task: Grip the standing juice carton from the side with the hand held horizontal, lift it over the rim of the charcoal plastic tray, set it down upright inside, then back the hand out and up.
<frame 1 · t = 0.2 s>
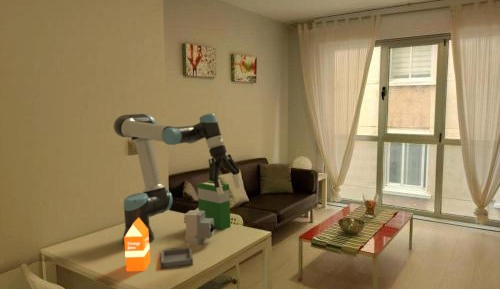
hand: (230, 191, 167), 28 cm above the table, tool tilted 20°, fingers open, 13 cm apart
circuit breaker: (201, 242, 180), on the table
juice carton: (138, 266, 155), on the table
green box: (214, 225, 205), on the table
tray: (177, 260, 160), on the table
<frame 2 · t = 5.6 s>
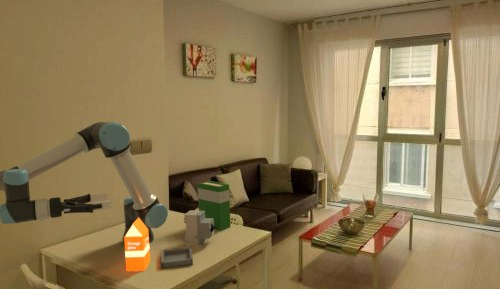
hand: (109, 200, 148), 30 cm above the table, tool horizontal, fingers open, 13 cm apart
nothing on the table moved.
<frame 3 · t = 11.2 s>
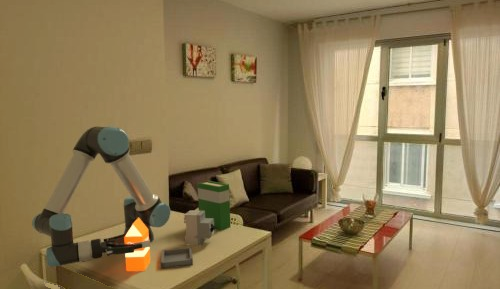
hand: (147, 239, 156), 11 cm above the table, tool horizontal, fingers closed on juice carton, 10 cm apart
juice carton: (138, 266, 155), on the table, touching gripper
everything else where it was.
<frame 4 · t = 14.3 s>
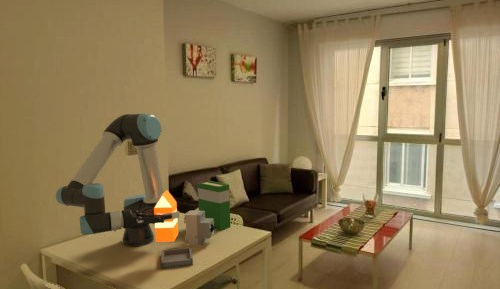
hand: (175, 211, 158), 22 cm above the table, tool horizontal, fingers closed on juice carton, 10 cm apart
juice carton: (167, 238, 157), point 11 cm above the table, touching gripper
everything else where it was.
when the fingers open (13 cm above the table, at t = 17.4 s): juice carton drops 1 cm, resting on tray.
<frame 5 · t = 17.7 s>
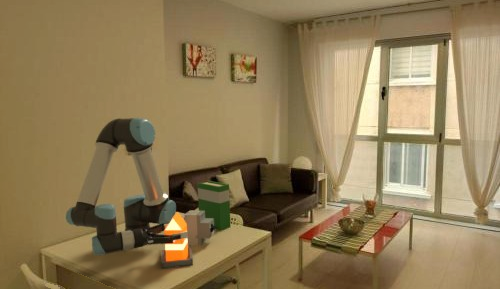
hand: (183, 229, 160), 13 cm above the table, tool horizontal, fingers open, 13 cm apart
juice carton: (177, 259, 160), resting on tray, touching gripper
everything else where it was.
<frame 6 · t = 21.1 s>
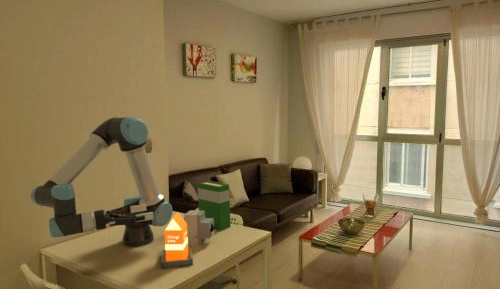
hand: (149, 211, 153), 24 cm above the table, tool horizontal, fingers open, 13 cm apart
juice carton: (177, 259, 159), resting on tray
everything else where it was.
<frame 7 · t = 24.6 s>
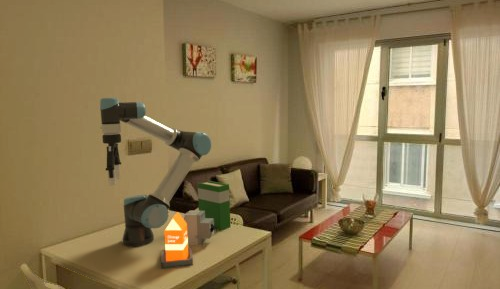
hand: (114, 182, 160), 35 cm above the table, tool pointing down, fingers open, 13 cm apart
nothing on the table moved.
at the end: juice carton 0.9 cm off-centre on the tray, point 0.4 cm above the tray's base; juice carton tilted 0°; the gripper is holding nothing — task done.
